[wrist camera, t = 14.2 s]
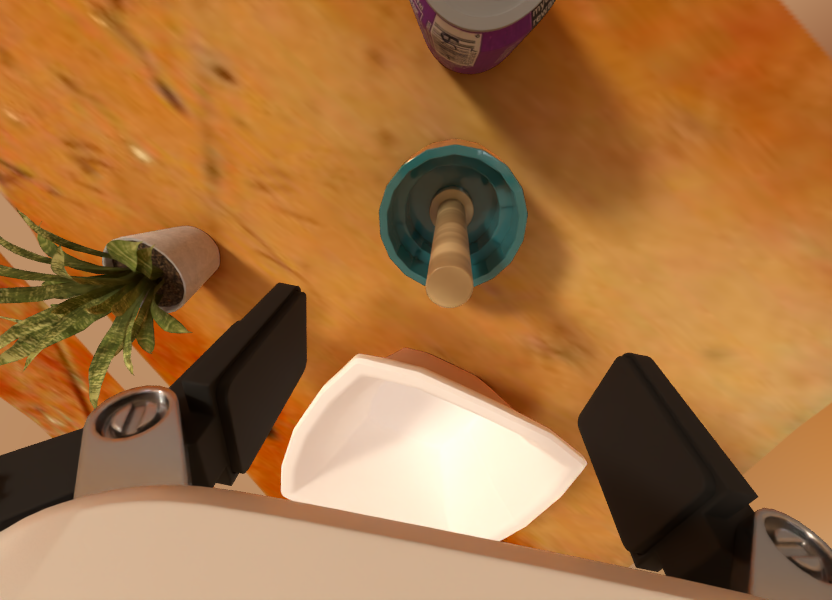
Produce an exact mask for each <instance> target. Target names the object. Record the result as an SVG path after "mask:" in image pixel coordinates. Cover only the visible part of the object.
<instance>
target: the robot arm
mask: <svg viewBox="0 0 832 600" xmlns="http://www.w3.org/2000/svg"><path fill="white" fill-rule="evenodd" d="M306 362H307V334H306V294H305V293H304V292H301V289H300V287H299V286H294V285H289V284H284V283H278V284H277V285H276V286H275V287H274V288H273V289H272V290H271V291H270V292H269V293H268V294H267V295H266V296H265V297H264V298H263V299H262V300H261V301H260V302H259V303H258V304H257V305H256V306H255V307H254V308H253V309H252V310H251V311H250V312H249V313H248V314H247V315H246V316H245V317H244V318H243V319H242V320H241V321H237V322H236V323H234V324H233V325H232V326H231V327H230V328H229V329H228V330H227V331H226V332H225V333H224V334H223V335H222V336H221V337H220V338H219V339H218V340H217V341H216V342H215V343H214V344H213V345H212V346H211V347H210V348H209V349H208V350H207V351H206V352H205V353H204V354H203V355H202V356H201V357H200V358H199V359H198V360H197V361H196V362H195V363H194V364H193V365H192V366H191V367H190V368H189V369H188V370H187V371H186V372H185V373H184V374H183V375H182V376H181V377H180V378H178V379H177V380H176V381H175V382H174V383H173V384H172V385H171V386H170V387H169V388H165V387H162V386H142V387H136V388H132V389H129V390H126V391H123V392H120V393H118V394H116V395H114V396H112V397H110V398H108V399H107V400H105V401H104V402H103V403H101V404H100V405H99V406H97V407H96V408H95V409H94V410H93V412H92V413H91V414H90V415H89V416H88V417H87V420H86V422H85V425H84V427H83V428H82V429H79V430H76V431H73V432H70V433H67V434H64V435H61V436H58V437H55V438H52V439H49V440H46V441H43V442H40V443H37V444H34V445H31V446H28V447H25V448H22V449H19V450H16V451H13V452H10V453H7V454H4V455H1V456H0V600H832V549H831V548H830V547H829V546H828V545H827V544H826V543H825V542H824V541H823V540H822V539H821V538H820V537H819V536H817V535H816V534H815V533H814V532H813V531H811V530H810V529H809V528H807V527H806V526H804V525H803V524H802V523H800V522H799V521H797V520H795V519H794V518H792V517H790V516H788V515H786V514H784V513H782V512H779V511H776V510H774V509H767V508H762V509H760V510H757V511H756V512H754V511H753V510H752V509H751V507H750V506H749V503H751V502H752V501H753V500H755V499H756V498H757V497H758V496H757V494H756V493H755V492H754V490H753V489H752V488H751V487H750V485H749V484H748V483H747V481H746V480H745V479H744V477H743V476H742V475H741V474H740V472H739V471H738V470H737V468H736V467H735V466H734V464H733V463H732V462H731V461H730V459H729V458H728V457H727V455H726V454H725V453H724V452H723V450H722V449H721V448H720V446H719V445H718V444H717V442H716V441H715V440H714V439H713V437H712V436H711V435H710V433H709V432H708V431H707V429H706V428H705V427H704V426H703V424H702V423H701V422H700V420H699V419H698V418H697V417H696V415H695V414H694V413H693V411H692V410H691V409H690V407H689V406H688V405H687V404H686V402H685V401H684V400H683V398H682V397H681V396H680V394H679V393H678V392H677V391H676V389H675V388H674V387H673V385H672V384H671V383H670V382H669V380H668V379H667V378H666V376H665V375H664V374H663V372H662V371H661V370H660V369H659V367H658V366H657V365H656V363H655V362H654V361H653V360H652V359H651V358H650V357H648V356H643V355H638V354H633V353H625V354H624V355H623V356H619V357H617V358H616V360H615V361H614V363H613V364H612V366H611V367H610V369H609V370H608V372H607V373H606V375H605V376H604V378H603V380H602V381H601V383H600V384H599V386H598V387H597V389H596V390H595V392H594V393H593V395H592V397H591V398H590V400H589V401H588V403H587V404H586V406H585V407H584V409H583V410H582V412H581V414H580V415H579V418H578V427H579V430H580V433H581V435H582V438H583V441H584V443H585V446H586V449H587V451H588V454H589V456H590V459H591V462H592V464H593V467H594V470H595V472H596V475H597V478H598V480H599V483H600V485H601V488H602V491H603V493H604V496H605V499H606V501H607V504H608V506H609V509H610V512H611V514H612V517H613V520H614V522H615V525H616V528H617V530H618V533H619V535H620V538H621V541H622V543H623V545H624V547H625V548H626V549H627V550H628V551H629V552H630V553H631V556H632V558H633V561H634V564H635V566H636V567H637V568H641V569H646V570H651V571H656V572H658V571H660V570H661V569H662V568H663V570H664V572H665V574H666V575H661V574H656V573H651V572H646V571H642V570H637V569H632V568H627V567H622V566H617V565H613V564H608V563H603V562H598V561H593V560H588V559H584V558H579V557H574V556H569V555H564V554H559V553H554V552H550V551H545V550H540V549H535V548H530V547H525V546H520V545H515V544H510V543H505V542H500V541H495V540H490V539H485V538H480V537H475V536H470V535H465V534H460V533H455V532H450V531H445V530H440V529H435V528H430V527H425V526H420V525H415V524H410V523H405V522H400V521H395V520H390V519H385V518H380V517H374V516H369V515H364V514H359V513H354V512H349V511H344V510H339V509H334V508H329V507H323V506H318V505H313V504H308V503H302V502H297V501H291V500H285V499H280V498H274V497H268V496H263V495H257V494H251V493H246V492H240V491H233V490H226V489H218V488H213V487H214V485H215V483H220V484H224V485H229V486H232V484H233V482H234V481H235V479H236V477H237V476H238V474H239V473H242V474H244V473H245V472H246V471H247V470H248V469H249V467H250V465H251V464H252V462H253V460H254V458H255V457H256V455H257V453H258V451H259V450H260V448H261V446H262V444H263V443H264V441H265V439H266V437H267V436H268V434H269V432H270V430H271V429H272V427H273V425H274V423H275V422H276V420H277V418H278V416H279V414H280V413H281V411H282V409H283V407H284V406H285V404H286V402H287V400H288V399H289V397H290V395H291V393H292V392H293V390H294V388H295V386H296V385H297V383H298V381H299V379H300V378H301V376H302V374H303V372H304V370H305V367H306Z"/></svg>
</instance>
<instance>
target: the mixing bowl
mask: <svg viewBox="0 0 832 600" xmlns="http://www.w3.org/2000/svg"><path fill="white" fill-rule="evenodd" d="M450 186H455V187H459V188H462V189H463V190H465V191H466V192H467V193H468V194H469V196H470V197H471V199H472V202H473V207H474V213H473V218H472V220H471V222H470V223H469V225H468V226H467V233H468V241H469V250H470V259H471V268H472V276H473V286H474V287H475V286H477V285H480V284H482V283H484V282H486V281H489V280H491V279H493V278H494V277H495V276H497V275H498V274H499V273H500V272H501V271H502V270H503V269H504V268H505V267H507V266H508V265H509V264H510V263H511V261H512V260H513V258H514V256H515V255H516V253H517V251H518V249H519V247H520V246H521V244H522V242H523V240H524V235H525V229H526V223H527V217H528V215H527V214H528V212H527V208H526V203H525V198H524V193H523V189H522V187H521V185H520V184H519V182H518V181H517V179H516V178H515V176H514V175H513V173H512V172H511V170H510V169H509V167H508V166H507V165H506V164H505V163H504V162H503V161H502V160H501V159H500V158H499V157H498V156H497V155H495V154H494V153H492V152H491V151H489V150H488V149H486V148H485V147H483V146H482V145H480V144H478V143H476V142H471V141H466V140H461V139H449V140H444V141H439V142H434V143H431V144H429V145H428V146H426V147H424V148H423V149H421V150H420V151H418V152H416V153H415V154H413V155H412V156H411V157H410V158H409V159H408V160H407V161H406V162H405V163H404V164H403V165H402V166H401V168H400V169H399V170H398V172H397V173H396V174H395V175H394V177H393V178H392V179H391V181H390V182H389V183H388V185H387V187H386V189H385V192H384V196H383V199H382V202H381V206H380V209H379V220H380V235H381V239H382V241H383V243H384V246H385V248H386V250H387V253H388V255H389V257H390V259H391V260H392V261H393V262H394V263H395V264H396V265H397V266H398V268H399V269H400V270H401V271H402V272H403V273H404V274H405V275H406V276H408V277H410V278H412V279H413V280H415V281H417V282H419V283H421V284H422V285H424V286H426V279H427V273H428V267H429V261H430V255H431V249H432V243H433V237H434V231H435V226H434V224H433V223H432V221H431V219H430V215H429V209H430V204H431V201H432V198H433V197H434V195H435V194H436V193H437V192H438V191H439V190H441V189H443V188H445V187H450Z"/></svg>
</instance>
